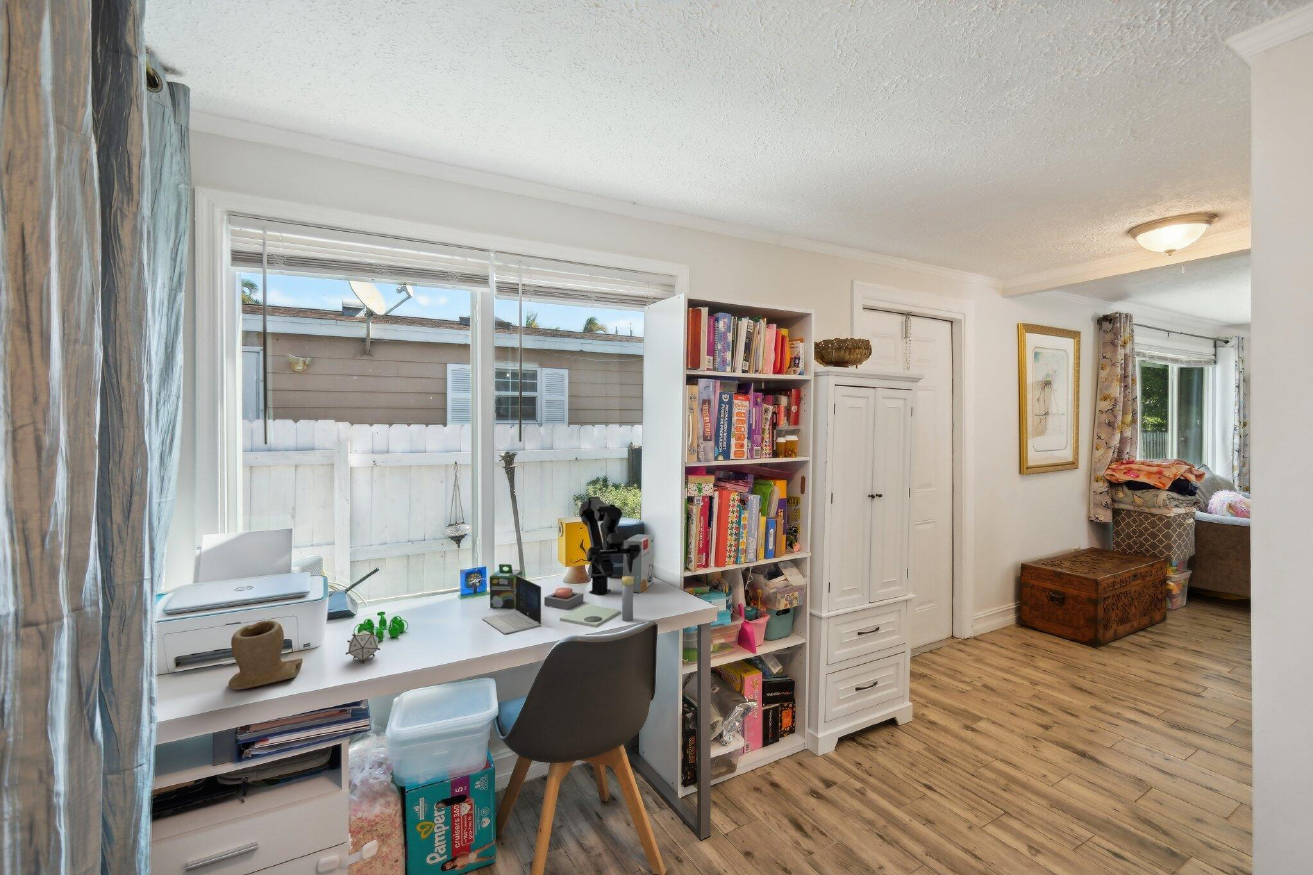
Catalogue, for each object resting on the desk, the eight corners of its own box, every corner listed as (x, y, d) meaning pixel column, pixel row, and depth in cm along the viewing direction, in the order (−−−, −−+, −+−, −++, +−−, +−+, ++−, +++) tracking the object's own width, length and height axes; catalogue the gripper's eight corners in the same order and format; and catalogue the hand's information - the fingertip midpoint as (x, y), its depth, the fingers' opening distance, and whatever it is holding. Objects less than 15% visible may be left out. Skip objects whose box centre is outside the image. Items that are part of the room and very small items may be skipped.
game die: (358, 676, 152) (334, 654, 147) (360, 654, 159) (338, 632, 154) (389, 658, 154) (366, 635, 149) (390, 636, 161) (368, 614, 156)
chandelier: (350, 647, 163) (350, 623, 163) (356, 630, 177) (356, 608, 177) (406, 640, 168) (406, 617, 168) (409, 624, 182) (409, 603, 182)
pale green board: (586, 606, 200) (586, 604, 200) (620, 612, 194) (620, 610, 194) (559, 620, 186) (559, 617, 186) (595, 627, 180) (595, 624, 180)
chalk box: (523, 600, 207) (523, 560, 206) (514, 609, 197) (514, 566, 197) (498, 600, 208) (498, 560, 207) (488, 608, 198) (488, 566, 198)
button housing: (560, 597, 210) (560, 589, 210) (583, 601, 206) (583, 593, 206) (544, 605, 201) (544, 597, 201) (567, 609, 197) (567, 601, 197)
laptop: (481, 619, 187) (481, 580, 187) (516, 612, 195) (516, 574, 194) (504, 635, 173) (504, 593, 173) (541, 626, 181) (541, 586, 181)
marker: (625, 616, 190) (625, 575, 190) (635, 618, 188) (635, 576, 188) (619, 620, 186) (619, 578, 186) (629, 622, 185) (630, 579, 184)
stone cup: (225, 700, 131) (224, 636, 131) (231, 680, 141) (230, 620, 141) (302, 684, 139) (301, 624, 139) (302, 667, 149) (302, 610, 149)
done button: (562, 593, 207) (562, 586, 207) (575, 595, 205) (575, 588, 205) (552, 597, 202) (552, 590, 202) (566, 600, 199) (566, 593, 199)
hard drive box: (640, 593, 217) (641, 541, 216) (622, 591, 219) (622, 540, 219) (654, 583, 231) (654, 534, 231) (636, 581, 234) (636, 533, 233)
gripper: (588, 524, 195) (595, 564, 185) (639, 521, 202) (649, 559, 192) (583, 541, 203) (590, 580, 193) (632, 538, 209) (641, 576, 200)
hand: (618, 573), depth 194 cm, fingers open, 9 cm apart
